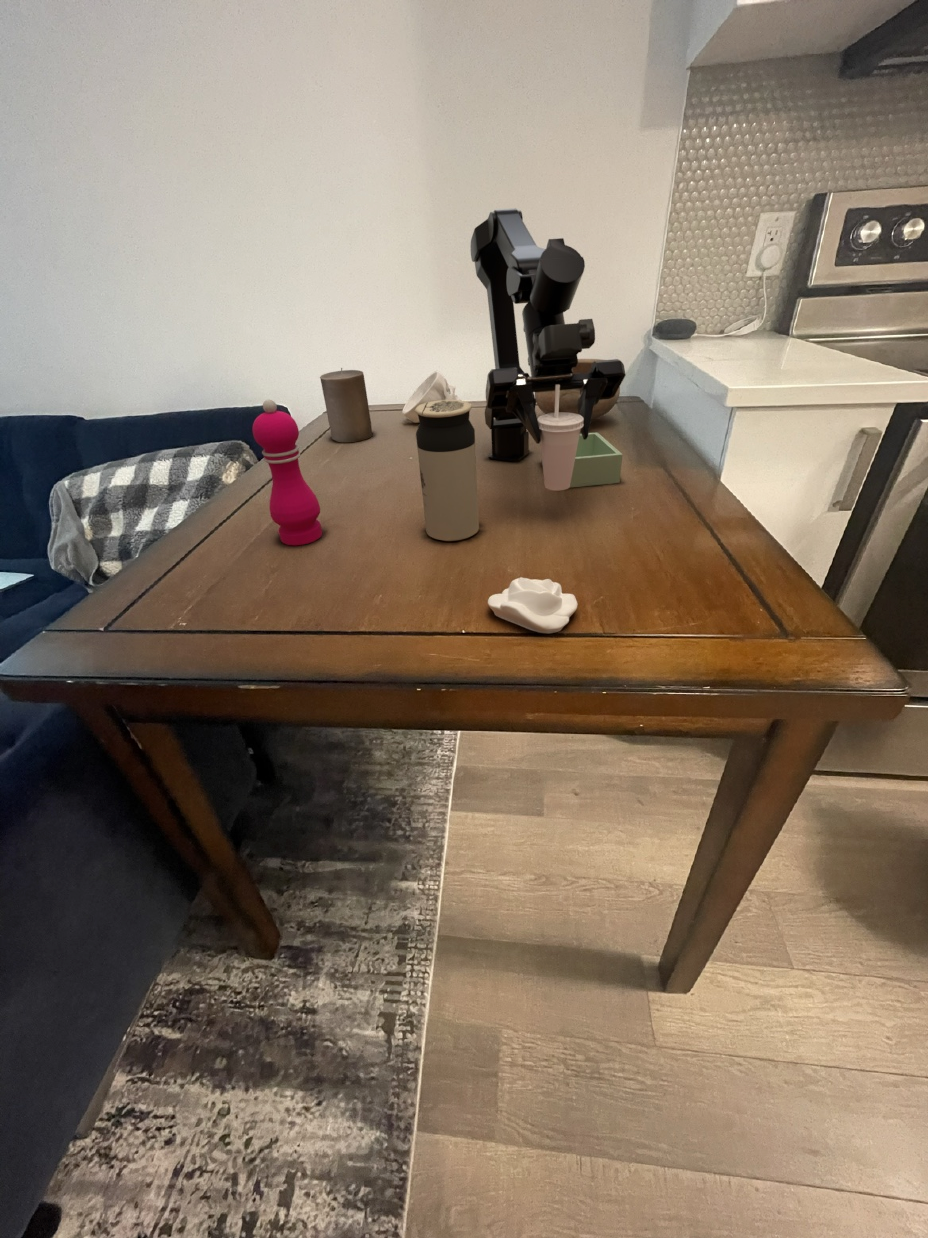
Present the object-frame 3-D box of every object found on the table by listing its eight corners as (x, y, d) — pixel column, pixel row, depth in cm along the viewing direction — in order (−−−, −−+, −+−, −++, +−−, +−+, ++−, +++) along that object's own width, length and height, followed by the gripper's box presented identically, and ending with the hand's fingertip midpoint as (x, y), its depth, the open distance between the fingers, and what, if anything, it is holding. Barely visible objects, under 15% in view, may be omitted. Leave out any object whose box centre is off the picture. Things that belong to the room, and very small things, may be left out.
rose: (490, 605, 56) (484, 560, 64) (491, 640, 59) (485, 592, 67) (586, 599, 56) (568, 555, 64) (583, 633, 59) (566, 587, 67)
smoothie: (531, 479, 82) (533, 381, 74) (573, 476, 83) (579, 377, 74) (540, 496, 77) (542, 392, 69) (584, 492, 77) (592, 388, 69)
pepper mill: (283, 551, 79) (244, 409, 68) (273, 533, 85) (236, 399, 73) (331, 539, 82) (301, 400, 71) (318, 522, 87) (289, 390, 76)
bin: (541, 463, 105) (542, 437, 102) (595, 458, 105) (597, 432, 102) (559, 488, 93) (560, 459, 91) (619, 482, 94) (622, 454, 91)
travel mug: (483, 520, 84) (478, 398, 74) (473, 543, 78) (466, 413, 68) (433, 519, 86) (422, 399, 76) (420, 541, 79) (405, 414, 69)
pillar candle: (378, 430, 131) (368, 362, 122) (365, 442, 123) (353, 371, 114) (340, 431, 132) (328, 364, 124) (324, 443, 125) (310, 372, 116)
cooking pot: (526, 412, 137) (527, 359, 130) (601, 406, 137) (605, 353, 130) (543, 440, 116) (545, 379, 109) (631, 434, 116) (638, 372, 110)
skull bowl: (475, 415, 132) (445, 371, 125) (430, 451, 135) (398, 410, 128) (467, 404, 140) (439, 363, 133) (425, 439, 143) (395, 400, 137)
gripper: (485, 301, 69) (501, 414, 66) (629, 290, 70) (650, 401, 67) (479, 357, 80) (493, 456, 77) (604, 348, 81) (621, 445, 78)
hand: (562, 440), depth 75 cm, fingers closed on smoothie, 6 cm apart
